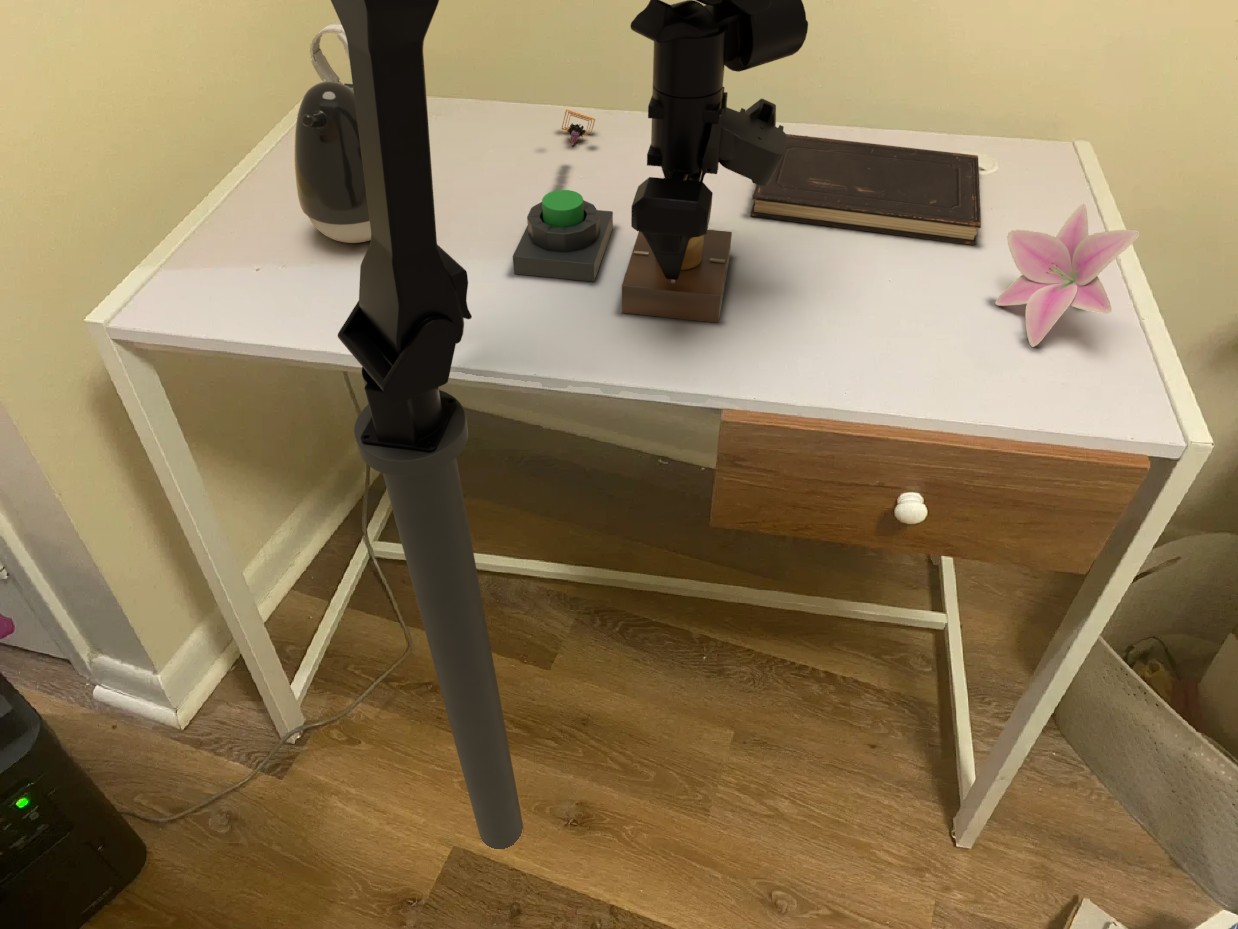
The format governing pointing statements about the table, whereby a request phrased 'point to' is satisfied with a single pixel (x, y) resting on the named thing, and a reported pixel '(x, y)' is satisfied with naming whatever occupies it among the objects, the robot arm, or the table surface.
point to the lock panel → (678, 282)
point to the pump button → (563, 208)
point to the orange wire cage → (576, 127)
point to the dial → (693, 253)
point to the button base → (564, 246)
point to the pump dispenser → (331, 164)
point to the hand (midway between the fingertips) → (678, 251)
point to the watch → (321, 61)
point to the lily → (1061, 271)
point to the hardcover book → (874, 189)
